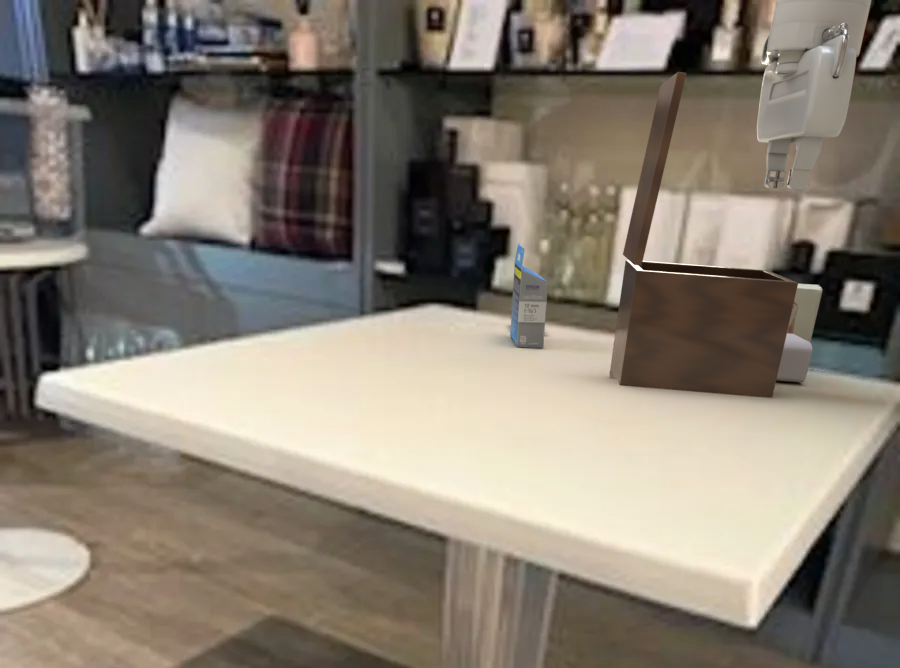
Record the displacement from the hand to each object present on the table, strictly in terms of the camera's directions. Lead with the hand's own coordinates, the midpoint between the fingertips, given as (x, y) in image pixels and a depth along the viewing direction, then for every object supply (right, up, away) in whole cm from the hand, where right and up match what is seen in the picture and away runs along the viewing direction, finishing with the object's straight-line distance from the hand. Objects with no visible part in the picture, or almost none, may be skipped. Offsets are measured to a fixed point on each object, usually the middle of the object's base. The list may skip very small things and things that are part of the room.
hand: (784, 189), depth 93 cm
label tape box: (-25, -9, +27) cm, 38 cm away
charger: (0, -16, +16) cm, 22 cm away
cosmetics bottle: (+9, -12, +24) cm, 29 cm away
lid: (-15, -1, -6) cm, 16 cm away
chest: (-10, -21, +3) cm, 23 cm away
